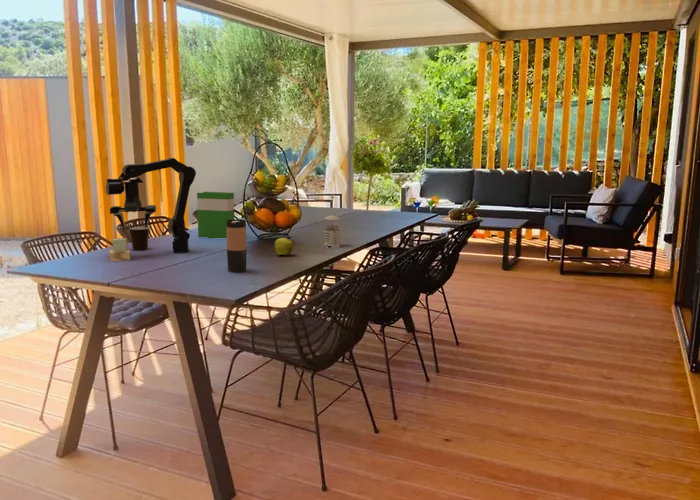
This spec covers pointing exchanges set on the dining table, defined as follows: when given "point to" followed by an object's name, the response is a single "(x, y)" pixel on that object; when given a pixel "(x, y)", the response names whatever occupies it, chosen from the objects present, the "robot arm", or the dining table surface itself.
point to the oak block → (119, 255)
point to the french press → (332, 231)
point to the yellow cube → (119, 244)
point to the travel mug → (236, 245)
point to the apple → (283, 246)
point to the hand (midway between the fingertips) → (134, 228)
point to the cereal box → (214, 213)
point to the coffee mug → (139, 238)
